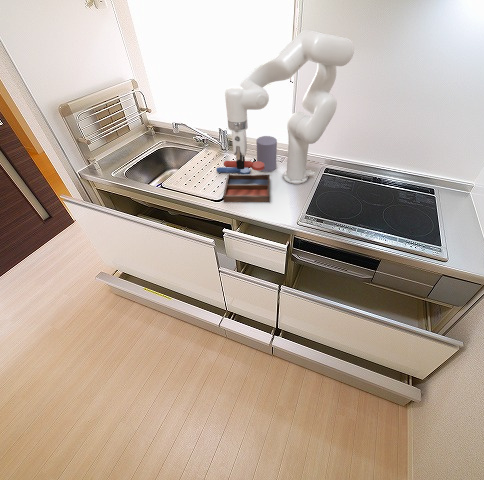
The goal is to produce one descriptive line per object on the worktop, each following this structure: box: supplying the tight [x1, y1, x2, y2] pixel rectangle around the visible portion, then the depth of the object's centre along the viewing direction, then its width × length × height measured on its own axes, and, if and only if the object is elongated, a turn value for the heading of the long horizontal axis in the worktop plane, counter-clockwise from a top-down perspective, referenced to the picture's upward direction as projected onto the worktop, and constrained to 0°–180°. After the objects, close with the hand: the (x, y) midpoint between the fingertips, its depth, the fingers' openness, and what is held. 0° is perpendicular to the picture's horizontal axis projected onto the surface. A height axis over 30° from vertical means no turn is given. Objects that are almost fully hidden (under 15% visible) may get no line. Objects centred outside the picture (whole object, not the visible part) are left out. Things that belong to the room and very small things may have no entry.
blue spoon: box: [216, 166, 251, 175], centre depth 136 cm, size 18×6×3 cm, turn 90°
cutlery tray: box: [222, 173, 271, 203], centre depth 125 cm, size 21×18×3 cm
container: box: [255, 135, 278, 173], centre depth 136 cm, size 10×10×15 cm
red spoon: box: [223, 160, 264, 172], centre depth 113 cm, size 18×6×3 cm, turn 90°
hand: (241, 166), depth 113 cm, fingers closed on red spoon, 2 cm apart
